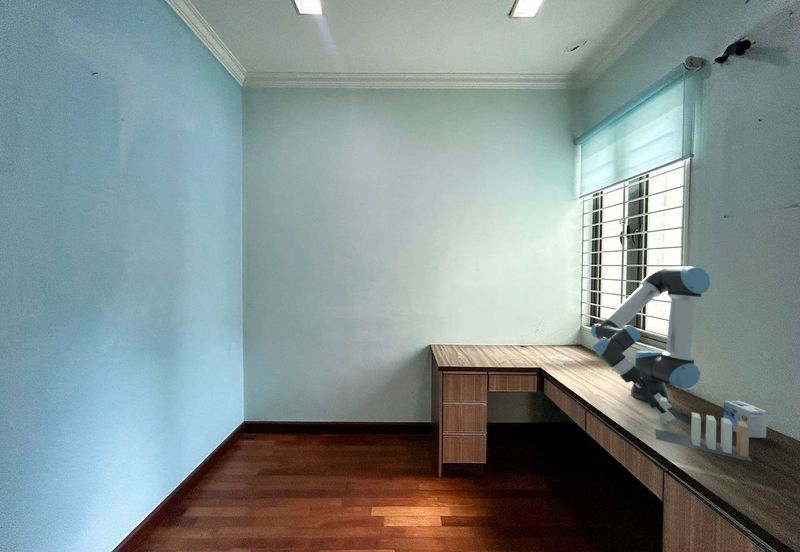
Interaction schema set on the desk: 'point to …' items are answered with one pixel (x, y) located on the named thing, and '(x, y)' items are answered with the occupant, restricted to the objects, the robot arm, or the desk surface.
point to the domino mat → (687, 442)
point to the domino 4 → (726, 435)
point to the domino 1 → (664, 403)
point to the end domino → (742, 438)
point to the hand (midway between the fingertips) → (670, 413)
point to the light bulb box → (746, 417)
